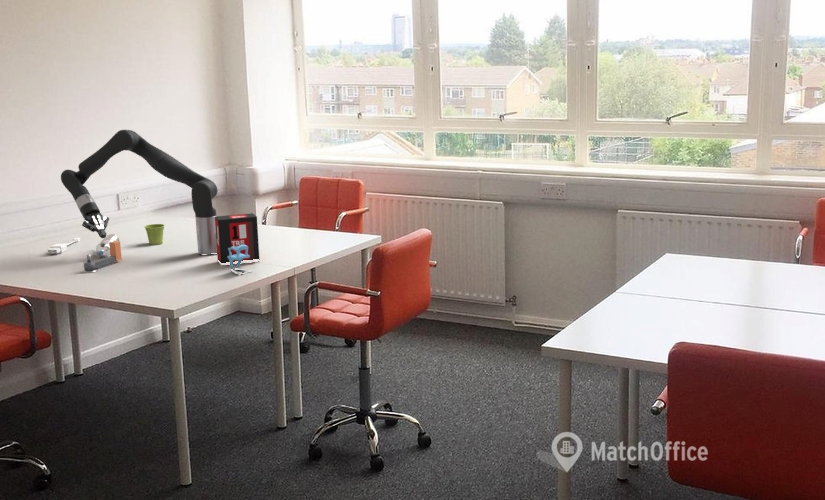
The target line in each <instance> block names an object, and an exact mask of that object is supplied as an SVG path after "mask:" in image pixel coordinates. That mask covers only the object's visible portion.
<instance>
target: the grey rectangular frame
mask: <svg viewBox="0 0 825 500" xmlns="http://www.w3.org/2000/svg"><path fill="white" fill-rule="evenodd" d="M108 266H109V265H103V266H100V267H97V268H95V269H97V270H99V269H102V268H105V267H108Z"/></svg>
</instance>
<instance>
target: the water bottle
mask: <svg viewBox="0 0 825 500" xmlns="http://www.w3.org/2000/svg"><path fill="white" fill-rule="evenodd" d="M113 241H119V242H120V243H121V241H120V238H119V236H118V235H117V234H115V233H110V234H109V233H108V234H107V235H106V237H105V238H102V240H101V241H100V242H99V243H98V244H97V245H96V247H95V250H94V251H95V254H96V255H97V257H99V258H101V259H102V258H106V257H109V256H110V247H109V243H110V242H113Z"/></svg>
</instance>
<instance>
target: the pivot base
mask: <svg viewBox="0 0 825 500" xmlns="http://www.w3.org/2000/svg"><path fill="white" fill-rule="evenodd" d="M85 257H86V262H88V263H90V262H92V258H91V257H92V256H91V254H86V256H85ZM98 270H99V269H95V270H91V271H85V270H82V273H84V274H91V273H95V272H98Z"/></svg>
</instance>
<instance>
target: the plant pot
mask: <svg viewBox="0 0 825 500" xmlns="http://www.w3.org/2000/svg"><path fill="white" fill-rule="evenodd" d="M165 226H166V225H165V224H163V223H162V224H161V223H153V224H152V223H151V224H148V225H145V226H143V228H144V229H145V231H146V234H147V235H146V236H147V239H148V244H149V245H151V246H154V245H155V246H156V245H161V244H163V242H164V241H163V240H164V230H165Z"/></svg>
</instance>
